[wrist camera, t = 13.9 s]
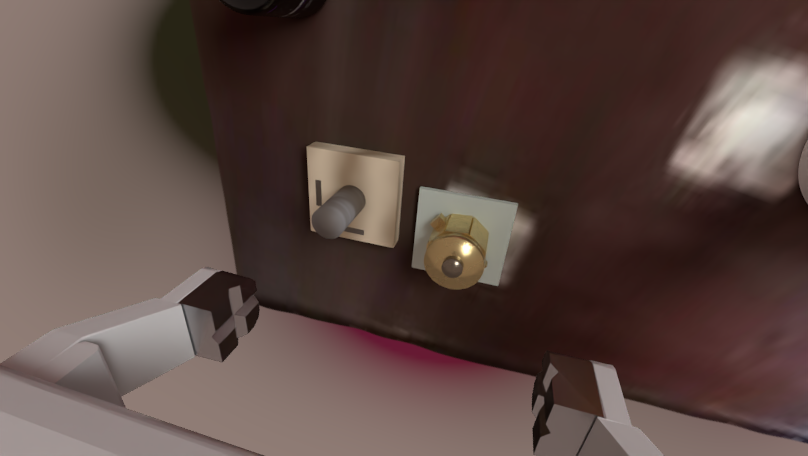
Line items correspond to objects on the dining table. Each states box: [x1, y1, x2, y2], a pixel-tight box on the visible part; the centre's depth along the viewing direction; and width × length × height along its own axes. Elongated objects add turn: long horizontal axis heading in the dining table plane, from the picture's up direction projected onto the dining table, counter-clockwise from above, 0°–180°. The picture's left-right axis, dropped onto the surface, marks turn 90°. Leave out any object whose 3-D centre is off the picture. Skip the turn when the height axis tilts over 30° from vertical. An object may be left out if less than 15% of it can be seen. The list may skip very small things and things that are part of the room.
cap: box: [424, 213, 489, 289], centre depth 38 cm, size 6×7×6 cm
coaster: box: [412, 186, 518, 286], centre depth 41 cm, size 10×10×1 cm
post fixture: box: [307, 142, 405, 248], centre depth 39 cm, size 10×10×8 cm
